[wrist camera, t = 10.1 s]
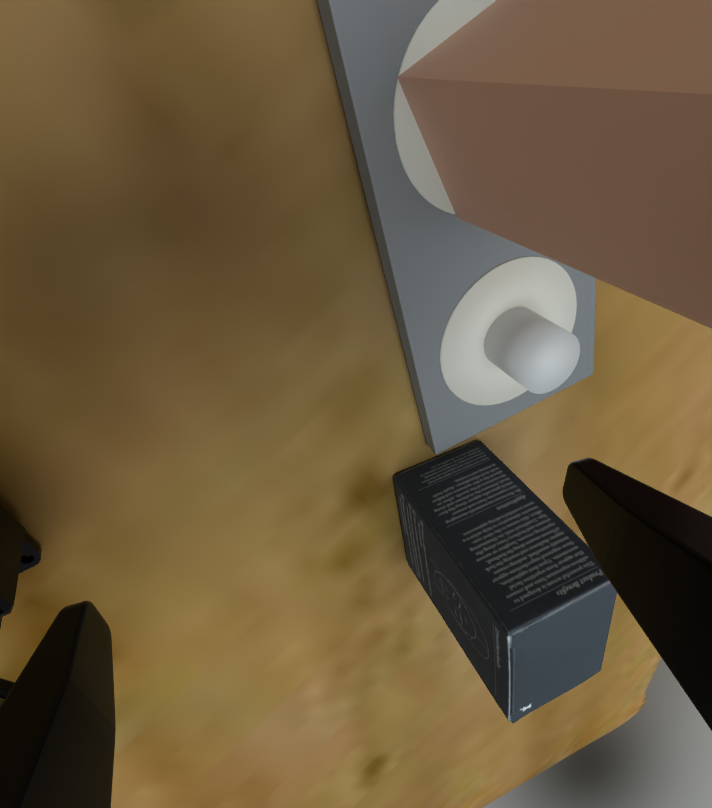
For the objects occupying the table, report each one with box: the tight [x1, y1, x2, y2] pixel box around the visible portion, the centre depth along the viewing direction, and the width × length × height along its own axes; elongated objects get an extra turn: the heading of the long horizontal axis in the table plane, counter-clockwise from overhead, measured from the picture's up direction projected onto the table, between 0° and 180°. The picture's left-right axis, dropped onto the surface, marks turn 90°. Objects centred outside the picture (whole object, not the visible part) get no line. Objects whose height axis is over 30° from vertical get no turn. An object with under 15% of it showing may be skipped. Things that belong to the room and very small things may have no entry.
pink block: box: [397, 0, 712, 328], centre depth 14 cm, size 6×6×12 cm
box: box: [394, 441, 617, 723], centre depth 27 cm, size 8×6×11 cm
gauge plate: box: [317, 0, 596, 455], centre depth 21 cm, size 10×20×4 cm, turn 16°
